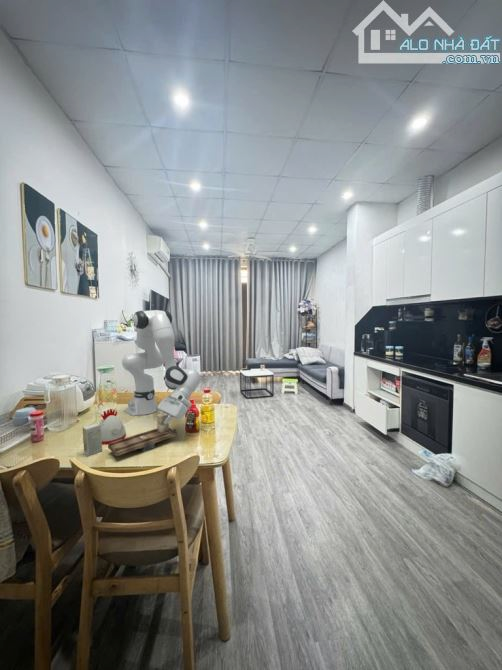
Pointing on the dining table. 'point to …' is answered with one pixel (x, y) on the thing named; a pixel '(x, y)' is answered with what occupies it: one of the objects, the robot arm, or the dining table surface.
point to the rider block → (160, 425)
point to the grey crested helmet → (111, 428)
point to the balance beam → (140, 441)
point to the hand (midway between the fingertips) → (161, 422)
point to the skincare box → (92, 439)
